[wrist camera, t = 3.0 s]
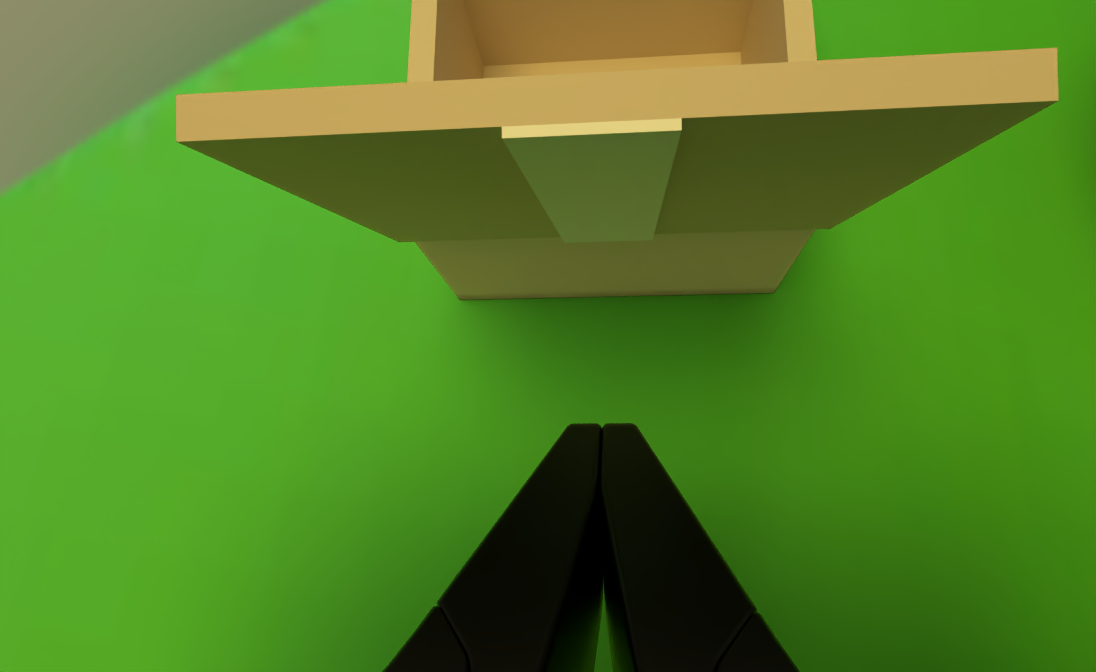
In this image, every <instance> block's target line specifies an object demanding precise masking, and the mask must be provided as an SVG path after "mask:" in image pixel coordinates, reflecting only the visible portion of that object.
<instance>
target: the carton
mask: <svg viewBox="0 0 1096 672" xmlns="http://www.w3.org/2000/svg"><path fill="white" fill-rule="evenodd" d="M800 61H817V55H816V43H815V32H814V21H813V9H812V0H412V11H411V28H410V45H409V62H408V79H407V83H408V82H426V81H445V80H464V79H482V78H501V77H520V76H538V75H557V74H576V73H594V72H613V71H632V70H650V69H669V68H688V67H707V66H725V65H744V64H763V63H781V62H800ZM814 231H815V229H807V230H774V231H742V232H709V233H677V234H654V236H653V240H640V241H607V242H574V243H564V241H563V240H562V238H561V237H547V238H515V239H482V240H450V241H417V242H415V243H416V244H417V245H418V247H419V248H420V249H421V250H422V252H423V253H424V254H425V256H426V257H427V258H428V259H429V261H430V262H431V263H432V265H433V266H434V267H435V268H436V270H437V271H438V272H439V274H440V275H441V276H442V278H443V279H444V280H445V281H446V283H447V284H448V285H449V287H450V288H451V289H452V290H453V292H454V293H455V294H456V296H457V297H458V298H459V299H460V300H481V299H526V298H570V297H615V296H660V295H705V294H750V293H774V292H775V290H776V289H777V287H778V286H779V284H780V283H781V281H782V279H783V278H784V276H785V275H786V273H787V272H788V270H789V269H790V267H791V266H792V264H793V263H794V261H795V260H796V258H797V257H798V255H799V253H800V252H801V250H802V249H803V247H804V246H805V244H806V243H807V241H808V240H809V238H810V237H811V235H812V234H813V232H814Z"/></svg>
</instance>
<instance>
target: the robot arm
mask: <svg viewBox="0 0 1096 672" xmlns="http://www.w3.org/2000/svg"><path fill="white" fill-rule="evenodd" d="M603 583H604V596H605V608H606V618H607V626H608V634H609V642H610V651H611V659H612V667H613V672H800V671H799V670H798V668H797V667H796V665H795V664H794V663H793V661H792V660H791V658H790V657H789V656H788V654H787V653H786V651H785V650H784V648H783V647H782V646H781V644H780V643H779V641H778V640H777V638H776V637H775V635H774V634H773V632H772V631H771V629H770V628H769V626H768V625H767V623H766V622H765V620H764V619H763V617H762V615H761V614H759V613H757V609H756V607H755V605H754V604H753V602H752V601H751V599H750V598H749V596H748V595H747V593H746V592H745V590H744V589H743V587H742V586H741V584H740V583H739V581H738V580H737V578H736V576H735V575H734V573H733V572H732V570H731V569H730V567H729V566H728V564H727V563H726V561H725V560H724V558H723V557H722V555H721V554H720V552H719V551H718V549H717V548H716V546H715V545H714V543H713V541H712V540H711V538H710V537H709V535H708V534H707V532H706V531H705V529H704V528H703V526H702V525H701V523H700V522H699V520H698V519H697V517H696V516H695V514H694V513H693V511H692V510H691V508H690V506H689V505H688V503H687V502H686V500H685V499H684V497H683V496H682V494H681V493H680V491H679V490H678V488H677V487H676V485H675V484H674V482H673V481H672V479H671V478H670V476H669V475H668V473H667V471H666V470H665V468H664V467H663V465H662V464H661V462H660V461H659V459H658V458H657V456H656V455H655V453H654V452H653V450H652V449H651V447H650V446H649V444H648V443H647V441H646V440H645V438H644V436H643V435H642V433H641V432H640V430H639V429H638V428H637V426H636V425H634V424H631V423H608V424H605V425H604V426H603V428H601V426H600V425H599V424H596V423H595V424H570V425H569V426H567V428H566V429H565V430H564V432H563V433H562V434H561V436H560V437H559V438H558V440H557V441H556V442H555V444H554V445H553V446H552V448H551V449H550V450H549V452H548V453H547V455H546V456H545V457H544V459H543V460H542V461H541V463H540V464H539V465H538V467H537V468H536V469H535V471H534V472H533V473H532V475H531V476H530V477H529V479H528V480H527V481H526V483H525V484H524V485H523V487H522V488H521V490H520V491H519V492H518V494H517V495H516V496H515V498H514V499H513V500H512V502H511V503H510V504H509V506H508V507H507V508H506V510H505V511H504V512H503V514H502V515H501V516H500V518H499V519H498V520H497V522H496V523H495V525H494V526H493V527H492V529H491V530H490V531H489V533H488V534H487V535H486V537H485V538H484V539H483V541H482V542H481V543H480V545H479V546H478V547H477V549H476V550H475V551H474V553H473V554H472V555H471V557H470V558H469V560H468V561H467V562H466V564H465V565H464V566H463V568H462V569H461V570H460V572H459V573H458V574H457V576H456V577H455V578H454V580H453V581H452V582H451V584H450V585H449V586H448V588H447V589H446V591H445V592H444V593H443V595H442V596H441V597H440V599H439V600H438V601H437V606H434V607H433V608H432V609H431V610H430V611H429V613H428V614H427V616H426V617H425V618H424V620H423V621H422V622H421V624H420V625H419V626H418V628H417V629H416V631H415V632H414V633H413V634H412V636H411V637H410V638H409V639H408V641H407V642H406V643H405V644H404V646H403V647H402V648H401V650H400V651H399V652H398V653H397V655H396V656H395V657H394V658H393V660H392V661H391V662H390V663H389V665H388V666H387V667H386V668H385V669H384V670H383V672H594V665H595V658H596V651H597V643H598V636H599V628H600V621H601V612H602V602H603Z"/></svg>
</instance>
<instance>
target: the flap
mask: <svg viewBox="0 0 1096 672" xmlns="http://www.w3.org/2000/svg"><path fill="white" fill-rule="evenodd" d="M1057 101H1058V60H1057V48H1043V49H1024V50H1005V51H987V52H968V53H949V54H931V55H912V56H893V57H875V58H856V59H837V60H819V61H800V62H781V63H763V64H744V65H725V66H707V67H688V68H669V69H650V70H632V71H613V72H594V73H576V74H557V75H538V76H520V77H501V78H482V79H464V80H445V81H426V82H408V83H389V84H370V85H352V86H333V87H314V88H296V89H277V90H258V91H240V92H221V93H202V94H184V95H176V139H177V142H178V143H180V144H183V145H185V146H187V147H189V148H192V149H194V150H196V151H198V152H200V153H203V154H205V155H207V156H209V157H211V158H214V159H216V160H218V161H220V162H223V163H225V164H227V165H229V166H231V167H234V168H236V169H238V170H240V171H243V172H245V173H247V174H249V175H251V176H254V177H256V178H258V179H260V180H263V181H265V182H267V183H269V184H271V185H274V186H276V187H278V188H280V189H282V190H285V191H287V192H289V193H291V194H294V195H296V196H298V197H300V198H302V199H305V200H307V201H309V202H311V203H314V204H316V205H318V206H320V207H322V208H325V209H327V210H329V211H331V212H333V213H336V214H338V215H340V216H342V217H345V218H347V219H349V220H351V221H353V222H356V223H358V224H360V225H362V226H365V227H367V228H369V229H371V230H373V231H376V232H378V233H380V234H382V235H385V236H387V237H389V238H391V239H393V240H396V241H398V242H417V241H450V240H482V239H515V238H547V237H561V238H562V240H563V241H564V243H574V242H607V241H640V240H653V236H654V234H677V233H709V232H742V231H774V230H807V229H830V228H832V227H834V226H836V225H838V224H839V223H841V222H843V221H845V220H846V219H848V218H850V217H852V216H854V215H855V214H857V213H859V212H861V211H863V210H864V209H866V208H868V207H870V206H871V205H873V204H875V203H877V202H879V201H880V200H882V199H884V198H886V197H888V196H889V195H891V194H893V193H895V192H896V191H898V190H900V189H902V188H904V187H905V186H907V185H909V184H911V183H912V182H914V181H916V180H918V179H920V178H921V177H923V176H925V175H927V174H929V173H930V172H932V171H934V170H936V169H937V168H939V167H941V166H943V165H945V164H946V163H948V162H950V161H952V160H953V159H955V158H957V157H959V156H961V155H962V154H964V153H966V152H968V151H970V150H971V149H973V148H975V147H977V146H978V145H980V144H982V143H984V142H986V141H987V140H989V139H991V138H993V137H994V136H996V135H998V134H1000V133H1002V132H1003V131H1005V130H1007V129H1009V128H1011V127H1012V126H1014V125H1016V124H1018V123H1019V122H1021V121H1023V120H1025V119H1027V118H1028V117H1030V116H1032V115H1034V114H1035V113H1037V112H1039V111H1041V110H1043V109H1044V108H1046V107H1048V106H1050V105H1052V104H1053V103H1055V102H1057Z"/></svg>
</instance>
